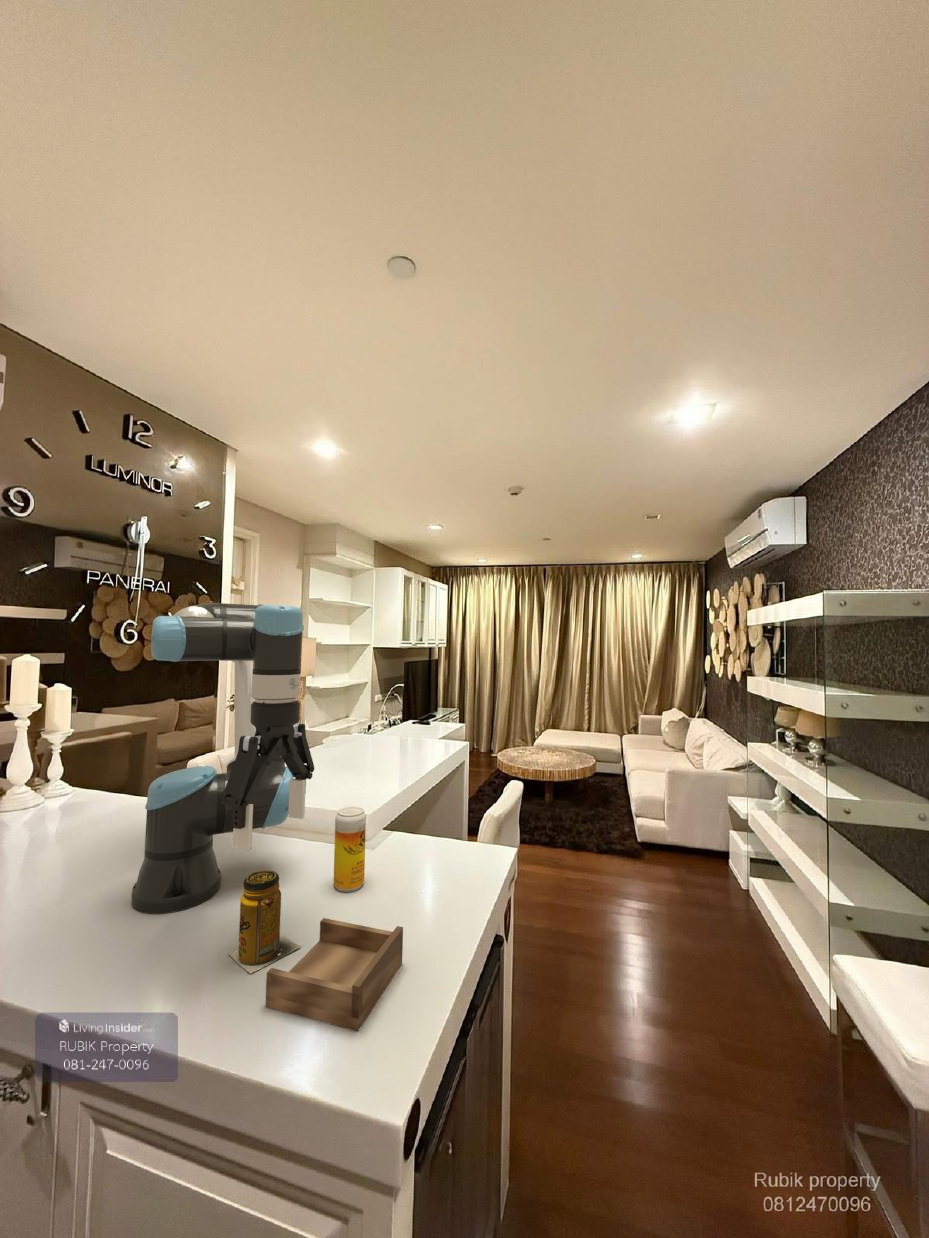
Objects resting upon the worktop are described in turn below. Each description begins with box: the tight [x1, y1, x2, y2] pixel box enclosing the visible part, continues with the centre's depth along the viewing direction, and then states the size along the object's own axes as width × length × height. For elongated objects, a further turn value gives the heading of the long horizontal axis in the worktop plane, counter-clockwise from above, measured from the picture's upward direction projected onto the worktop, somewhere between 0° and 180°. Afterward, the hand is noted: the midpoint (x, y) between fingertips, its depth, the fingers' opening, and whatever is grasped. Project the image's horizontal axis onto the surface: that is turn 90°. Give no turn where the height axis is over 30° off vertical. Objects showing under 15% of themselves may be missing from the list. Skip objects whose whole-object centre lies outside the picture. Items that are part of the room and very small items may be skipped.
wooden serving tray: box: [264, 917, 404, 1032], centre depth 72 cm, size 14×14×6 cm
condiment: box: [227, 869, 301, 975], centre depth 80 cm, size 7×8×12 cm
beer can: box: [333, 806, 367, 893], centre depth 101 cm, size 6×6×15 cm
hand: (271, 831), depth 80 cm, fingers open, 13 cm apart
